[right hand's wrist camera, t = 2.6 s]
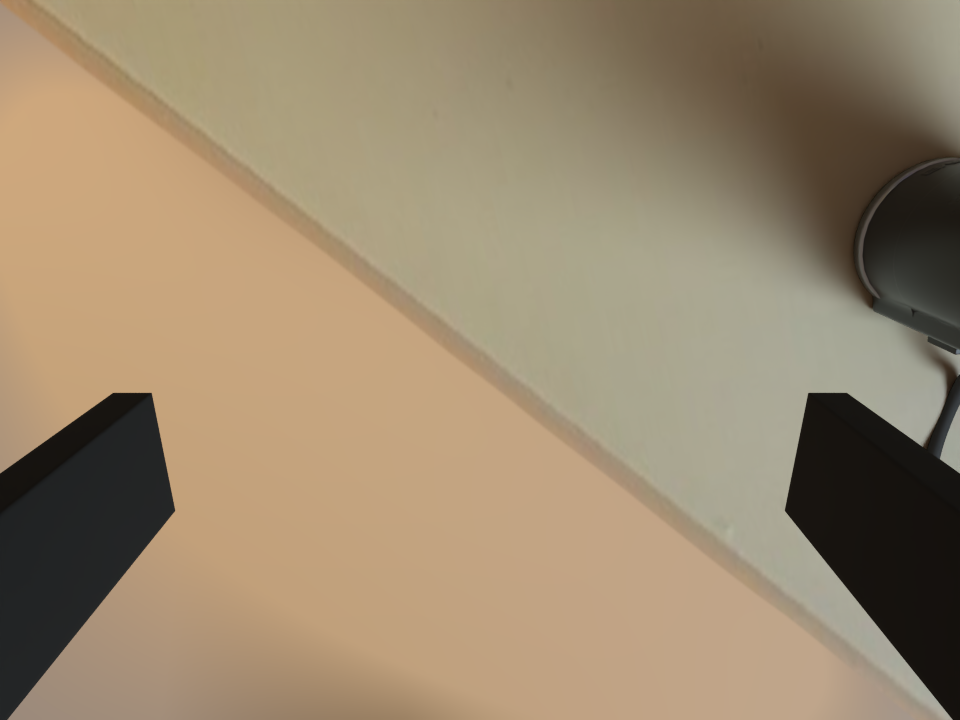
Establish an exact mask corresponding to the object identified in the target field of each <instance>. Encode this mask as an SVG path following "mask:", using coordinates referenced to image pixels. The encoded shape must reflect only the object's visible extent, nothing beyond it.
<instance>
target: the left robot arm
mask: <svg viewBox="0 0 960 720" xmlns="http://www.w3.org/2000/svg"><path fill="white" fill-rule="evenodd" d="M854 260H855V266H856V270H857V273H858V275H859V278H860V280H861V282H862V283H863V285H864V286H865V288H866V289H867V290H868V291H869V292H870V293H871V294H872V295H873V310H874V311H875V312H877V313H879V314H881V315H883V316H885V317H888V318H890V319H892V320H894V321H896V322H899V323H901V324H903V325H905V326H907V327H910V328H912V329H914V330H916V331H918V332H921V333H923V334H925V335H927V336H928V342H930V343H932V344H934V345H936V346H938V347H940V348H942V349H944V350H947V351H949V352H951V353H953V354H960V158H950V157H949V158H939V159H933V160H929V161H925V162H923V163H920V164H917V165H915V166H913V167H911V168H909V169H907V170H905V171H904V172H902V173H900V174H899V175H898V176H896V177H895V178H893V179H892V180H891V181H890V182H888V183H887V184H886V185H885V186H884V187H883V188H882V189H881V190H880V191H879V193H878V194H877V195H876V196H875V197H874V199H873V200H872V201H871V203H870V204H869V206H868V207H867V209H866V211H865V213H864V214H863V216H862V219H861V221H860V223H859V226H858V229H857V233H856V237H855V244H854ZM959 405H960V375H959V376H958V378H957V379H956V381H955V383H954V385H953V387H952V389H951V391H950V393H949V395H948V398H947V401H946V404H945V406H944V409H943V411H942V414H941V416H940V418H939V421H938V423H937V425H936V427H935V429H934V432H933V434H932V436H931V439H930V442H929V446H928V449H927V451H929V452H930V453H932V454H933V455H934V456H936V457H937V458H939V459H940V456H941V452H942V448H943V445H944V442H945V439H946V436H947V433H948V430H949V428H950V425H951V423H952V420H953V418H954V416H955V413H956V411H957V409H958V407H959Z"/></svg>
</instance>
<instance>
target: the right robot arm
mask: <svg viewBox="0 0 960 720" xmlns="http://www.w3.org/2000/svg"><path fill="white" fill-rule="evenodd" d="M174 512H175V508H174V502H173V497H172V493H171V488H170V482H169V477H168V473H167V468H166V463H165V458H164V453H163V448H162V443H161V438H160V433H159V428H158V423H157V418H156V413H155V408H154V403H153V398H152V393H113V394H111V395H110V396H108V397H107V398H106V399H104V400H103V401H101V402H100V403H99V404H97V405H96V406H94V407H93V408H91V409H90V410H89V411H87V412H86V413H84V414H83V415H82V416H80V417H79V418H77V419H76V420H75V421H73V422H72V423H71V424H69V425H68V426H66V427H65V428H63V429H62V430H61V431H59V432H58V433H56V434H55V435H54V436H52V437H51V438H49V439H48V440H47V441H45V442H44V443H42V444H41V445H40V446H38V447H37V448H35V449H34V450H33V451H31V452H30V453H28V454H27V455H26V456H24V457H23V458H21V459H20V460H19V461H17V462H16V463H14V464H13V465H12V466H10V467H9V468H7V469H6V470H5V471H3V472H2V473H0V720H7V719H8V718H9V717H10V716H11V714H12V713H13V712H14V711H15V709H16V708H17V707H18V706H19V704H20V703H21V702H22V701H23V699H24V698H25V697H26V696H27V694H28V693H29V692H30V691H31V689H32V688H33V687H34V686H35V684H36V683H37V682H38V681H39V679H40V678H41V677H42V676H43V675H44V673H45V672H46V671H47V670H48V668H49V667H50V666H51V665H52V663H53V662H54V661H55V660H56V658H57V657H58V656H59V655H60V653H61V652H62V651H63V650H64V648H65V647H66V646H67V645H68V643H69V642H70V641H71V640H72V638H73V637H74V636H75V635H76V633H77V632H78V631H79V630H80V628H81V627H82V626H83V625H84V623H85V622H86V621H87V620H88V619H89V617H90V616H91V615H92V614H93V612H94V611H95V610H96V609H97V607H98V606H99V605H100V604H101V602H102V601H103V600H104V599H105V597H106V596H107V595H108V594H109V592H110V591H111V590H112V589H113V587H114V586H115V585H116V584H117V582H118V581H119V580H120V579H121V577H122V576H123V575H124V574H125V573H126V571H127V570H128V569H129V568H130V566H131V565H132V564H133V563H134V561H135V560H136V559H137V558H138V556H139V555H140V554H141V553H142V551H143V550H144V549H145V548H146V546H147V545H148V544H149V543H150V541H151V540H152V539H153V538H154V536H155V535H156V534H157V533H158V531H159V530H160V529H161V528H162V526H163V525H164V524H165V523H166V521H167V520H168V519H169V518H170V516H171V515H172V514H173V513H174ZM785 512H786V513H787V514H788V515H789V517H790V518H791V519H792V520H793V522H794V523H795V524H796V525H797V526H798V528H799V529H800V530H801V531H802V533H803V534H804V535H805V536H806V538H807V539H808V540H809V541H810V543H811V544H812V545H813V546H814V548H815V549H816V550H817V551H818V553H819V554H820V555H821V556H822V558H823V559H824V560H825V561H826V563H827V564H828V565H829V566H830V568H831V569H832V570H833V571H834V573H835V574H836V575H837V576H838V577H839V579H840V580H841V581H842V582H843V584H844V585H845V586H846V587H847V589H848V590H849V591H850V592H851V594H852V595H853V596H854V597H855V599H856V600H857V601H858V602H859V604H860V605H861V606H862V607H863V609H864V610H865V611H866V612H867V614H868V615H869V616H870V617H871V619H872V620H873V621H874V622H875V624H876V625H877V626H878V627H879V628H880V630H881V631H882V632H883V633H884V635H885V636H886V637H887V638H888V640H889V641H890V642H891V643H892V645H893V646H894V647H895V648H896V650H897V651H898V652H899V653H900V655H901V656H902V657H903V658H904V660H905V661H906V662H907V663H908V665H909V666H910V667H911V668H912V670H913V671H914V672H915V673H916V675H917V676H918V677H919V678H920V680H921V681H922V682H923V683H924V684H925V686H926V687H927V688H928V689H929V691H930V692H931V693H932V694H933V696H934V697H935V698H936V699H937V701H938V702H939V703H940V704H941V706H942V707H943V708H944V709H945V711H946V712H947V713H948V714H949V716H950V717H951V718H952V719H953V720H960V473H958V472H957V471H955V470H954V469H953V468H951V467H950V466H948V465H947V464H946V463H944V462H943V461H941V460H940V459H939V458H937V457H936V456H934V455H933V454H932V453H930V452H929V451H927V450H926V449H925V448H923V447H922V446H920V445H919V444H918V443H916V442H915V441H913V440H912V439H911V438H909V437H908V436H906V435H905V434H904V433H902V432H901V431H899V430H898V429H897V428H895V427H894V426H892V425H891V424H890V423H888V422H887V421H885V420H884V419H883V418H881V417H880V416H878V415H877V414H876V413H874V412H873V411H871V410H870V409H869V408H867V407H866V406H864V405H863V404H862V403H860V402H859V401H857V400H856V399H855V398H853V397H852V396H850V395H849V394H847V393H808V398H807V403H806V408H805V413H804V418H803V423H802V428H801V433H800V438H799V443H798V448H797V453H796V458H795V463H794V468H793V473H792V477H791V482H790V487H789V492H788V497H787V502H786V507H785Z"/></svg>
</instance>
